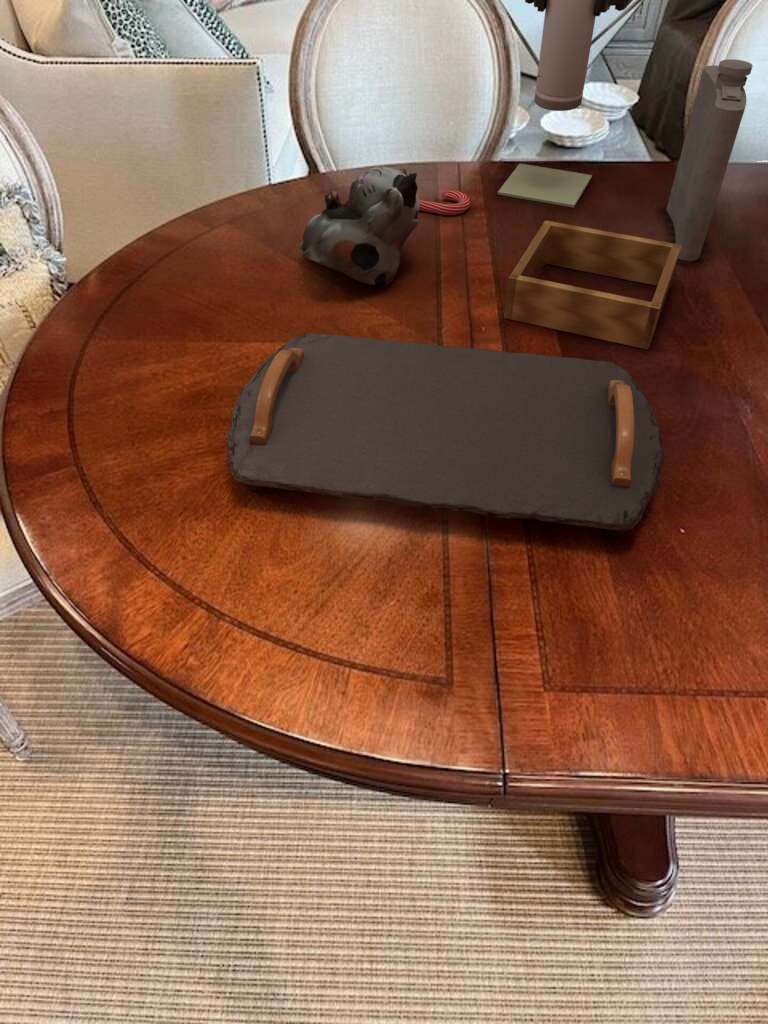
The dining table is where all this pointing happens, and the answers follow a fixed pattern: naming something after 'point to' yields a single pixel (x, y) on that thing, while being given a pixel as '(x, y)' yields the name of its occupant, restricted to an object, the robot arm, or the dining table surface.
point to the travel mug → (564, 53)
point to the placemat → (545, 185)
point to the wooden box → (585, 306)
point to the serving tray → (449, 430)
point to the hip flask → (707, 152)
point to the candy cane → (447, 208)
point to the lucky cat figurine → (365, 226)
